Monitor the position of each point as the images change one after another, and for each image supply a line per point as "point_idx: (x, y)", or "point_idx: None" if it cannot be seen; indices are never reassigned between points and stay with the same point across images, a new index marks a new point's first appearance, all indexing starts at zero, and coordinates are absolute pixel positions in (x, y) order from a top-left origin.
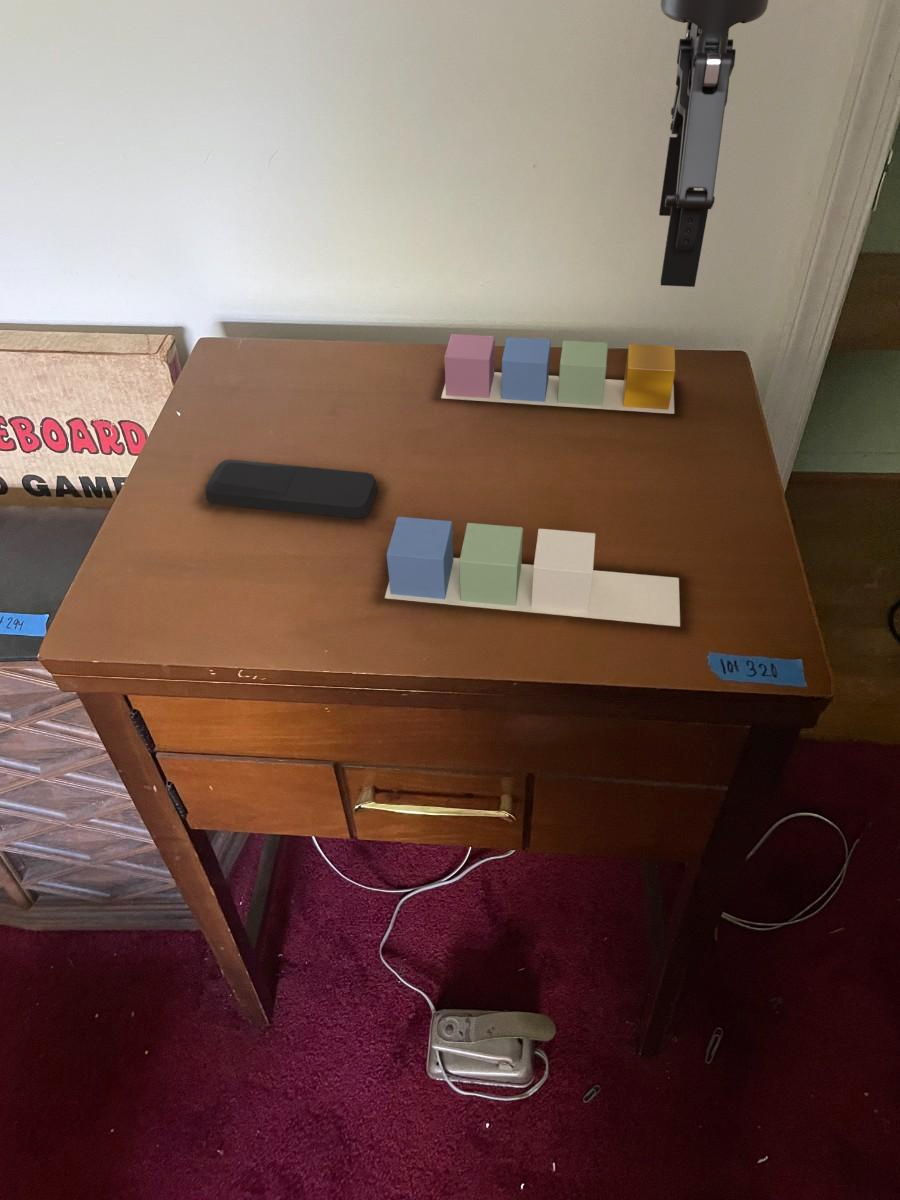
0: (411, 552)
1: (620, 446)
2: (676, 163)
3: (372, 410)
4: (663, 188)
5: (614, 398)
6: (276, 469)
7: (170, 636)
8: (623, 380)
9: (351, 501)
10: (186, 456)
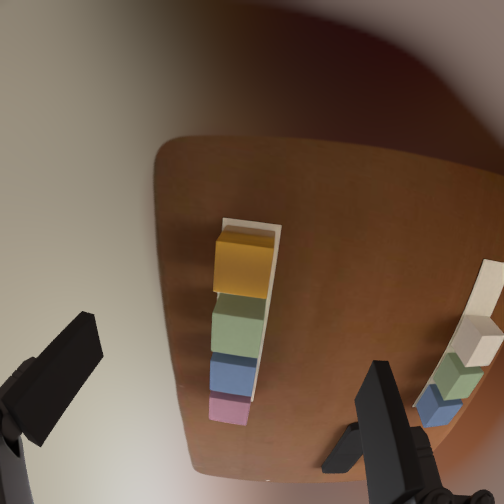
0: (451, 416)
1: (333, 284)
2: (53, 405)
3: (267, 429)
4: (80, 385)
5: None
6: (337, 460)
7: None
8: None
9: None
10: (305, 476)
